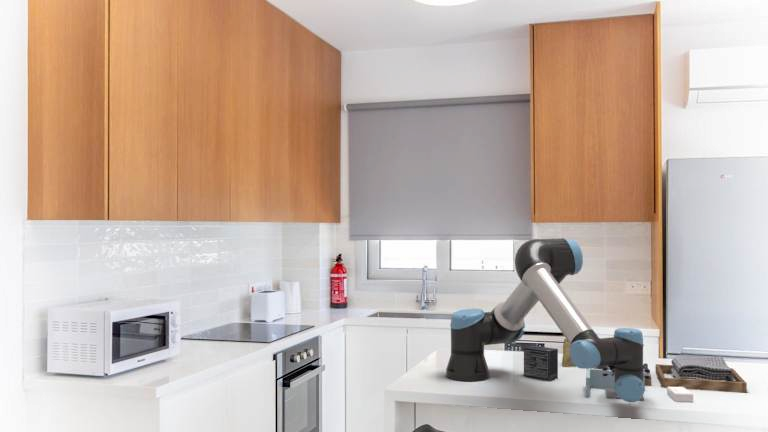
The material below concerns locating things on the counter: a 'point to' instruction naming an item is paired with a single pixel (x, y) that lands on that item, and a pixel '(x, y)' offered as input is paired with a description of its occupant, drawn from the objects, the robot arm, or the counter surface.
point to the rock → (566, 355)
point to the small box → (541, 363)
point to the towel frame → (700, 381)
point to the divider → (599, 380)
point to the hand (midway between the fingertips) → (623, 362)
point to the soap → (680, 394)
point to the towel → (701, 368)
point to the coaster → (614, 394)
